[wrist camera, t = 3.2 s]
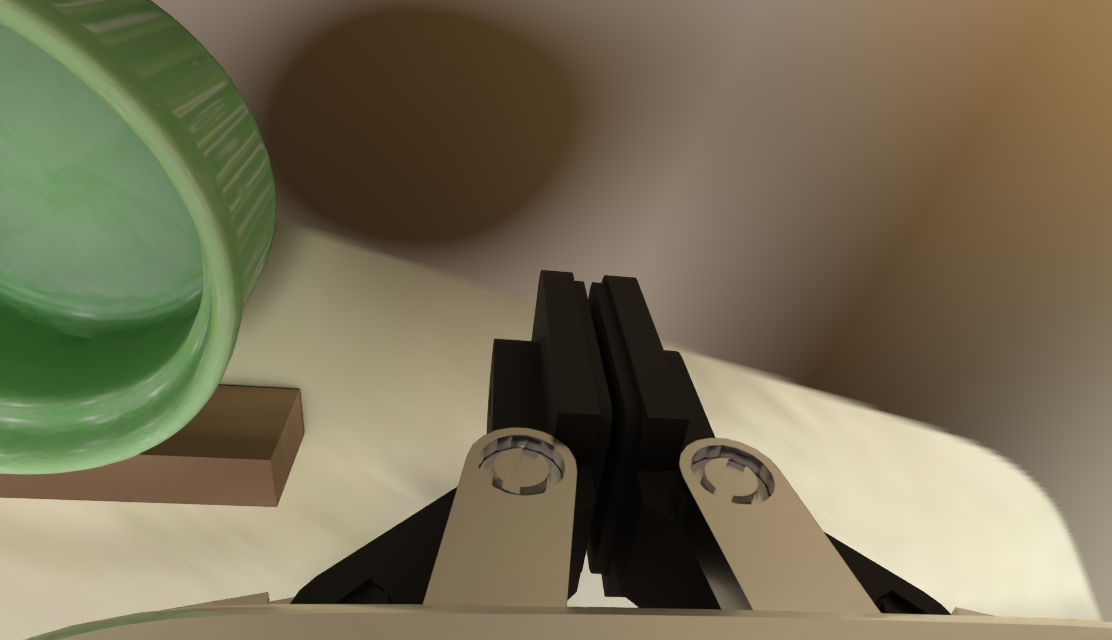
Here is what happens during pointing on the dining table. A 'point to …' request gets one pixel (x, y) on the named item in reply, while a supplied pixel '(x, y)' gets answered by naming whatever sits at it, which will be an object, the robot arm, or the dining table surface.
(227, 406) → the walnut track
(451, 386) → the dining table surface
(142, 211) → the ramekin
